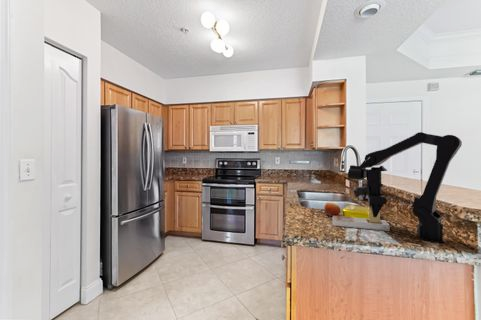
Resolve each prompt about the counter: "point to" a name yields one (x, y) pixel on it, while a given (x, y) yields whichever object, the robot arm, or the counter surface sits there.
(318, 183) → the counter surface
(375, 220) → the brass peg
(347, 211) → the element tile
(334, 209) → the fruit
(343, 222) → the rail bar
